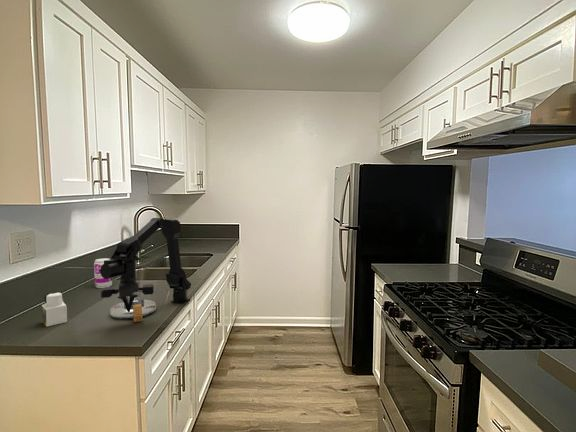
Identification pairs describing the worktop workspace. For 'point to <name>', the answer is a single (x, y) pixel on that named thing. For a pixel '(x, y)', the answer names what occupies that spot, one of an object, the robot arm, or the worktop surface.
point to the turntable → (137, 310)
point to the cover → (136, 302)
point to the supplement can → (99, 280)
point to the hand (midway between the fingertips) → (128, 311)
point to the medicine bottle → (54, 309)
